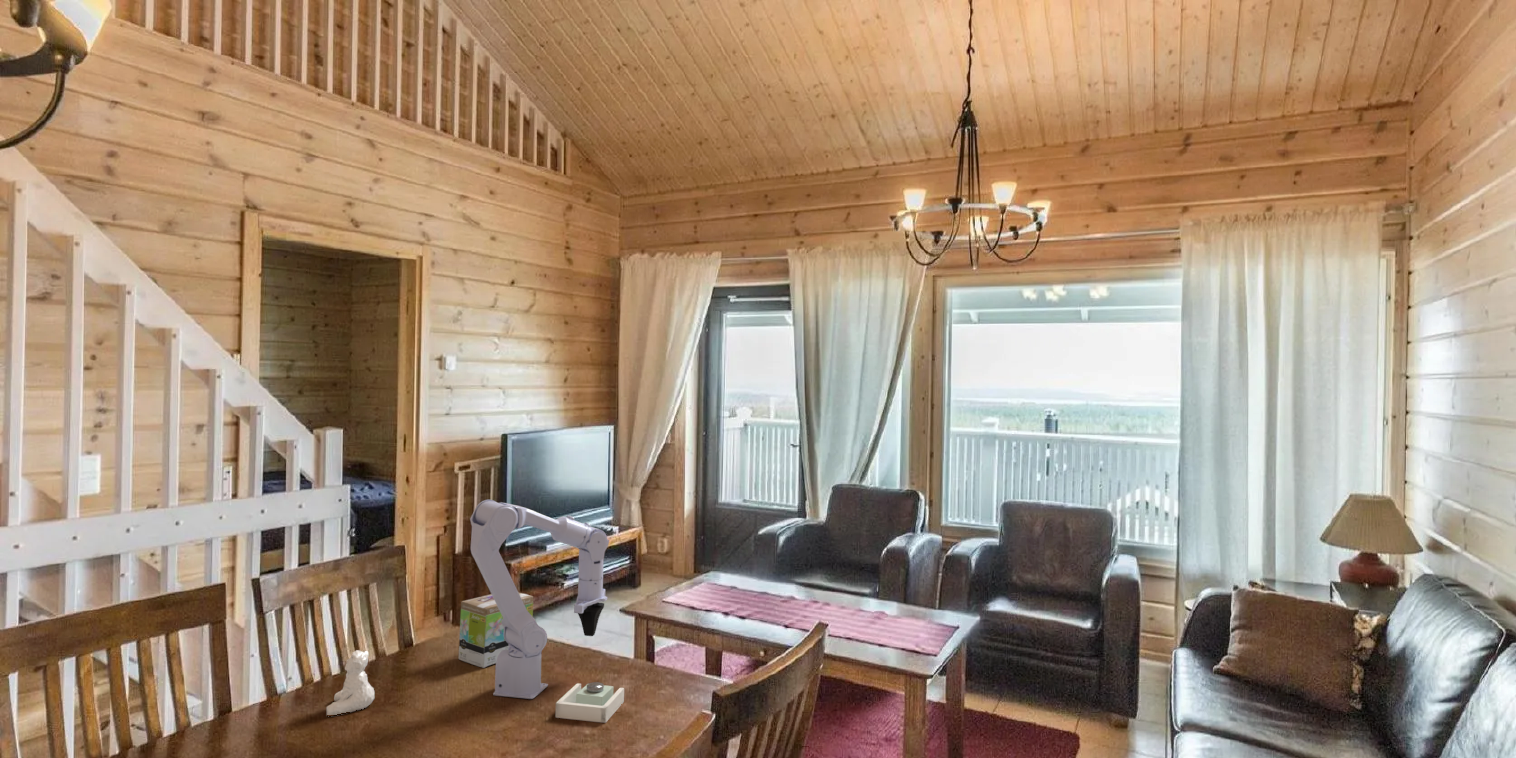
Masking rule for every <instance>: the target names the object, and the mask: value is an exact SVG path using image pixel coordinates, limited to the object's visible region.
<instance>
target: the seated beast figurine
mask: <svg viewBox="0 0 1516 758" xmlns="http://www.w3.org/2000/svg"><path fill="white" fill-rule="evenodd" d="M369 656H370V653H369V651H368V650H365V651H362V650H360V649H358V650H357V649H356V650H355V651H352V653H351V656H350V657H349V658H347V659H346V665H345V667H344V670H345V671H346V673H345V679H344V682H343V686H342V689H341V690H340V691H337V692H336V693H335V694H334V698H333V699H334V700H333V701H334V702H333V701H332V703H331V704H329V705H327V706H326V707H325V708H326V709H325V710H326V716H327V715H337V714H341V713H346V712H350V713H353V712H357V711H360V710H361V709H362V710H365V709H366V708H368V707H369V705H371V704H372V703H373V701H374V700H375V694H376V693H375V690H374V689H375V687H373V686H372V685H371V684H370V682H369V679H368V674H367V673H366V671H365V669H366V667H367V666H368V664H369V663H368V662H369ZM364 708H365V709H364ZM356 710H357V711H356ZM346 714H347V713H346ZM341 715H342V714H341ZM337 716H338V715H337Z"/></svg>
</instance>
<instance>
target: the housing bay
mask: <svg viewBox="0 0 1516 758" xmlns="http://www.w3.org/2000/svg"><path fill="white" fill-rule="evenodd" d="M581 689H582V683H576V684H575V685H574V686H573V687H572V688H570V689H569V690H568V691H567V692H566V693H565V694H564V695H563V696H562V697H560V698H559V700H557V701H556V702H555V714H554V715H555V718H557V719H559V718H560V719H565V720H566V719H567V720H575V721H576V720H577V721H586V722H594V723H603V724H604V723H605V724H606V723H607V722H608V720H610V719H611V717H612V716H613V715H614V714H615V712H617V710H618V709H619V708H620V707H621V706H622V705H623V703H624V702H625V688H624V687H619V688H618V689H617V690H616V691H615V692H614V693H613V696H612V697H611V698H610V699H609V700H608V701H607V702H606V703H605V704H604V705H603V706H599V705H589V704H580V703H576V694H577V693H578V692H579V691H580V690H581ZM621 704H622V705H621Z"/></svg>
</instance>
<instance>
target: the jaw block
mask: <svg viewBox="0 0 1516 758" xmlns="http://www.w3.org/2000/svg"><path fill="white" fill-rule="evenodd" d="M614 693H615V692H614V685H613V686H612V685H604V683H602V682H599V681H595V682H590V683H587V684H586V685H585V686H584V687H581V690H580V691H579V692H578V693H577V694H576V703H580V704H589V705H599V706H603V705H604V704H605V703H606V702H607V701H608V700H609V699H610V698H611V697H612V696H613V695H614Z"/></svg>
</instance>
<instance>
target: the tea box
mask: <svg viewBox="0 0 1516 758" xmlns="http://www.w3.org/2000/svg"><path fill="white" fill-rule="evenodd" d="M518 593H519V595H520V597H521V599H522V601H523V603H524V605H525V607H526V609H527V611H528V612H529V613H530V614H531V615H532V617H533V618H534V615H533V614H534V596H533V595H529V594H527V593H523V592H519V591H518ZM459 617H460V619H459V644H458V660H460V661H462V662H464V663H468V664H471V665H474V666H475V667H480V668H481V669H484V668H486V667H490V666H491V665H492V666H493V665H494V664H495V665H496V661H497V658H498V655H499V654H500V652H501V651H503V650H508V648H509V644H508V643H507V642H506V641H505V639H504V628H503V625H502V623H501V621H502V619H503V616H502V614H501V612H500V610H499V608H498V606H497V604H496V602H495V600H494V598H493V596H492V594H491V593H490V594H486V595H482V596H478V597H474V598H469V599H466V600H462V601H461V602H460V616H459Z"/></svg>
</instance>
